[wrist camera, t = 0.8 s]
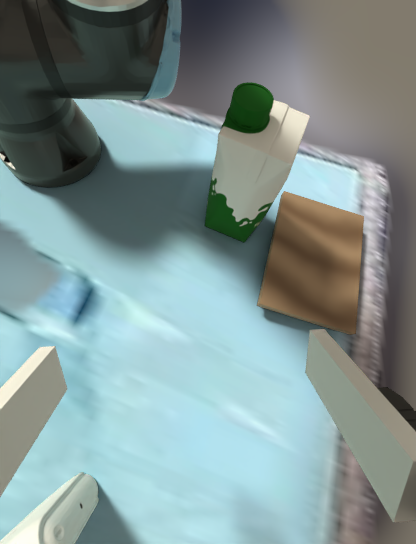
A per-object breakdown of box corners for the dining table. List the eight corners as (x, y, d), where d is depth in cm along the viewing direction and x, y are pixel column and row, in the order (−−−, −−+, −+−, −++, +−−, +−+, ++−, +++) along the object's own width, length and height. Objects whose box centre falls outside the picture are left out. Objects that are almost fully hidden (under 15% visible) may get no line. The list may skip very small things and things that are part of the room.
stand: (277, 201, 45) (284, 191, 42) (352, 225, 45) (363, 216, 42) (253, 308, 38) (259, 303, 35) (342, 336, 38) (355, 333, 35)
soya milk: (216, 188, 44) (245, 61, 26) (264, 208, 44) (329, 94, 25) (197, 228, 41) (213, 116, 22) (248, 250, 41) (308, 155, 22)
